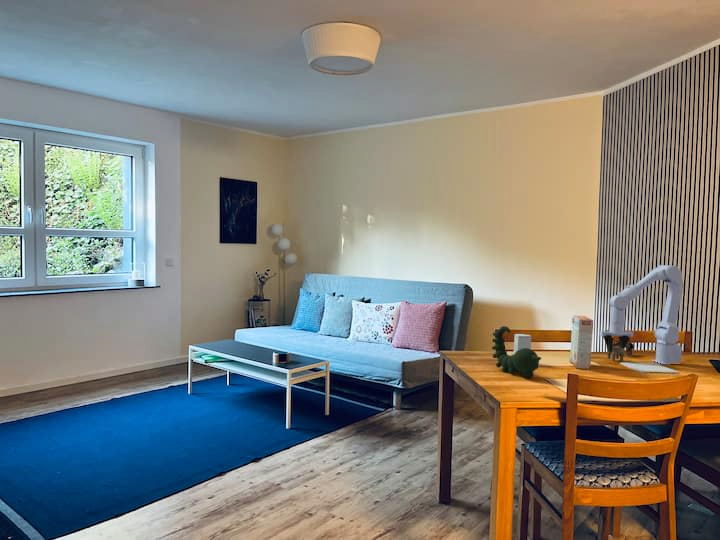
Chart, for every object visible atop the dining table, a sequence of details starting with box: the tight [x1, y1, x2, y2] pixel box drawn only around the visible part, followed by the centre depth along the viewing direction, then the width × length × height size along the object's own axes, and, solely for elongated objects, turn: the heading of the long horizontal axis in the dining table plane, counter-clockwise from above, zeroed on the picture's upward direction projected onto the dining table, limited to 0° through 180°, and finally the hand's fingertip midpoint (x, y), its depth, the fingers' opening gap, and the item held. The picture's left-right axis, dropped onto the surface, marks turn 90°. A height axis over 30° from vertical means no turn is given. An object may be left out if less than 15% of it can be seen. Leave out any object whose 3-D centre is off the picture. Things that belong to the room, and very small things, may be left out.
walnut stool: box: [606, 347, 625, 362], centre depth 237 cm, size 5×5×6 cm
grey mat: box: [619, 361, 680, 374], centre depth 224 cm, size 16×16×1 cm
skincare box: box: [513, 333, 532, 355], centre depth 227 cm, size 6×4×12 cm
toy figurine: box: [491, 325, 542, 379], centre depth 205 cm, size 9×19×25 cm
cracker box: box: [569, 315, 594, 370], centre depth 224 cm, size 14×6×21 cm, turn 168°
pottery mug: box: [612, 341, 635, 357], centre depth 253 cm, size 12×10×8 cm
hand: (615, 352), depth 237 cm, fingers closed on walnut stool, 5 cm apart
